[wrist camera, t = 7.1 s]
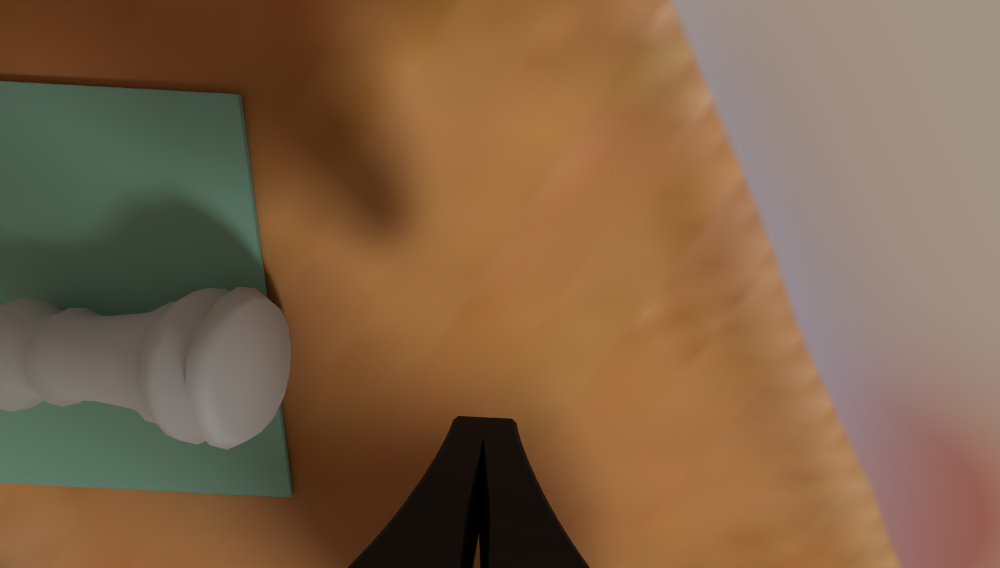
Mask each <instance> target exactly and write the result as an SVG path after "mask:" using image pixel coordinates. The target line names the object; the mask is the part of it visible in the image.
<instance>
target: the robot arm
mask: <svg viewBox="0 0 1000 568" xmlns="http://www.w3.org/2000/svg"><path fill="white" fill-rule="evenodd" d="M478 535H479V544H480V568H590V567H589V566H588V564H587V563H586V562H585V560H584V559H583V558H582V556H581V555H580V553H579V552H578V550H577V549H576V547H575V546H574V544H573V543H572V541H571V540H570V538H569V537H568V535H567V534H566V532H565V531H564V529H563V527H562V526H561V524H560V522H559V521H558V519H557V517H556V515H555V514H554V512H553V510H552V508H551V507H550V505H549V503H548V501H547V499H546V497H545V495H544V493H543V492H542V490H541V487H540V485H539V483H538V481H537V479H536V477H535V475H534V473H533V471H532V468H531V466H530V464H529V461H528V459H527V456H526V454H525V451H524V448H523V446H522V443H521V440H520V436H519V433H518V429H517V423H516V422H515V421H514V420H513V419H505V418H486V417H467V416H458V417H457V418H455V419H454V420H453V422H452V425H451V428H450V430H449V432H448V434H447V436H446V438H445V440H444V442H443V444H442V446H441V448H440V450H439V451H438V453H437V455H436V457H435V458H434V460H433V462H432V463H431V465H430V466H429V468H428V470H427V471H426V473H425V474H424V476H423V478H422V479H421V481H420V482H419V484H418V485H417V486H416V488H415V489H414V490H413V492H412V493H411V495H410V496H409V497H408V499H407V500H406V501H405V503H404V504H403V506H402V507H401V508H400V510H399V511H398V512H397V513H396V515H395V516H394V517H393V518H392V520H391V521H390V522H389V523H388V524H387V526H386V527H385V528H384V529H383V530H382V531H381V533H380V534H379V535H378V536H377V537H376V538H375V539H374V541H373V542H372V543H371V544H370V545H369V546H368V547H367V548H366V549H365V550H364V551H363V552H362V553H361V554H360V555H359V556H358V557H357V559H356V560H355V561H354V562H353V563H352V564H351V565H350V566H349V567H348V568H473V567H474V561H475V554H476V548H477V542H478Z"/></svg>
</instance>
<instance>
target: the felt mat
mask: <svg viewBox="0 0 1000 568" xmlns="http://www.w3.org/2000/svg"><path fill="white" fill-rule="evenodd" d="M237 287H249V288H256V289H257V290H258V291H260V292H261V293H262V294H263V295H264V296H266V297H267V289H266V282H265V274H264V266H263V259H262V251H261V243H260V235H259V228H258V220H257V212H256V204H255V197H254V189H253V181H252V173H251V166H250V158H249V150H248V142H247V135H246V127H245V119H244V111H243V104H242V96H241V94H230V93H212V92H194V91H176V90H158V89H140V88H123V87H105V86H87V85H69V84H51V83H33V82H15V81H0V305H3V304H5V303H8V302H10V301H13V300H15V299H18V298H43V299H45V300H47V301H49V302H51V303H53V304H55V305H58V306H59V307H60V308H61V309H62V310H63V311H64V310H66V309H68V308H88V309H90V310H92V311H94V312H96V313H98V314H100V315H101V316H117V315H128V314H139V313H147V312H151V311H155V310H157V309H158V308H160V307H162V306H164V305H166V304H167V303H169V302H176V301H178V300H180V299H181V298H183V297H185V296H187V295H188V294H190V293H192V292H194V291H197V290H201V289H205V288H217V289H227V290H228V291H229V292H230V291H232V290H233V289H235V288H237ZM267 298H268V297H267ZM0 483H16V484H35V485H55V486H74V487H94V488H113V489H133V490H152V491H172V492H191V493H211V494H231V495H250V496H270V497H289V498H291V496H292V494H293V491H292V483H291V475H290V467H289V460H288V452H287V444H286V437H285V429H284V421H283V413H282V406H281V404H280V406H279V408H278V410H277V412H276V415H275V417H274V418H273V419H272V420H271V421H270V422H269V424H268V425H267V426H266V427H265V428H264V429H263V431H262V432H260V433H259V434H257V435H255V436H254V437H252V438H251V439H249V440H247V441H246V442H244V443H241V444H239V445H237V446H235V447H232V448H230V449H228V450H226V449H223V448H219V447H215V446H211V445H209V444H208V443H207V441H205V442H203V443H200V444H198V445H196V444H192V443H188V442H184V441H180V440H177V439H175V438H172V437H170V436H167V435H165V433H164V432H163V431H162V430H161V429H160V427H159V426H158V425H157V424H155V423H151V422H148V421H145V420H144V418H143V417H142V416H141V415H140V414H139V413H138V412H137V411H135V410H132V409H129V408H125V407H120V406H116V405H111V404H107V403H102V402H97V401H82V402H81V403H78V404H73V405H69V406H64V407H61V406H57V405H54V404H50V403H46V402H45V401H43V402H41V403H39V404H38V405H36V406H35V407H32V408H27V409H22V410H17V411H12V412H11V411H6V410H2V409H0Z"/></svg>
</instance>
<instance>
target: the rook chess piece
mask: <svg viewBox="0 0 1000 568" xmlns="http://www.w3.org/2000/svg"><path fill="white" fill-rule="evenodd" d="M291 349H292V348H291V341H290V334H289V327H288V324H287V322H286V320H285V318H284V315H283V313H282V311H281V309H280V308H278V307H277V306H276V305H275V304H274V303H273V302H271V301H270V300H269V299H268V298H267V297H266V296H264V295H263V294H262V293H261V292H260V291H258V290H257V289H256V288H249V287H237V288H235V289H233V290H232V291H230V292H229V291H228V290H227V289H217V288H205V289H201V290H197V291H194V292H192V293H190V294H188V295H187V296H185V297H183V298H181V299H180V300H178V301H176V302H169V303H167V304H166V305H164V306H162V307H160V308H158V309H157V310H155V311H151V312H147V313H139V314H128V315H117V316H101V315H100V314H98V313H96V312H94V311H92V310H90V309H88V308H68V309H66V310H64V311H63V310H62V309H61V308H60V307H59V306H58V305H55V304H53V303H51V302H49V301H47V300H45V299H43V298H18V299H15V300H13V301H10V302H8V303H5V304H3V305H0V409H2V410H6V411H11V412H12V411H17V410H22V409H27V408H32V407H35V406H36V405H38V404H39V403H41V402H43V401H45V402H46V403H50V404H54V405H57V406H61V407H64V406H69V405H73V404H78V403H81V402H82V401H97V402H102V403H107V404H111V405H116V406H120V407H125V408H129V409H132V410H135V411H137V412H138V413H139V414H140V415H141V416H142V417H143V418H144V420H145V421H148V422H151V423H155V424H157V425H158V426H159V427H160V429H161V430H162V431H163V432H164V433H165V435H167V436H170V437H172V438H175V439H177V440H180V441H184V442H188V443H192V444H196V445H198V444H200V443H203V442H205V441H207V443H208V444H209V445H211V446H215V447H219V448H223V449H226V450H228V449H230V448H232V447H235V446H237V445H239V444H241V443H244V442H246V441H247V440H249V439H251V438H252V437H254V436H255V435H257V434H259V433H260V432H262V431H263V429H264V428H265V427H266V426H267V425H268V424H269V422H270V421H271V420H272V419H273V418H274V417H275V415H276V412H277V410H278V408H279V406H280V404H281V402H282V400H283V397H284V395H285V391H286V387H287V383H288V379H289V375H290V366H291Z"/></svg>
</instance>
